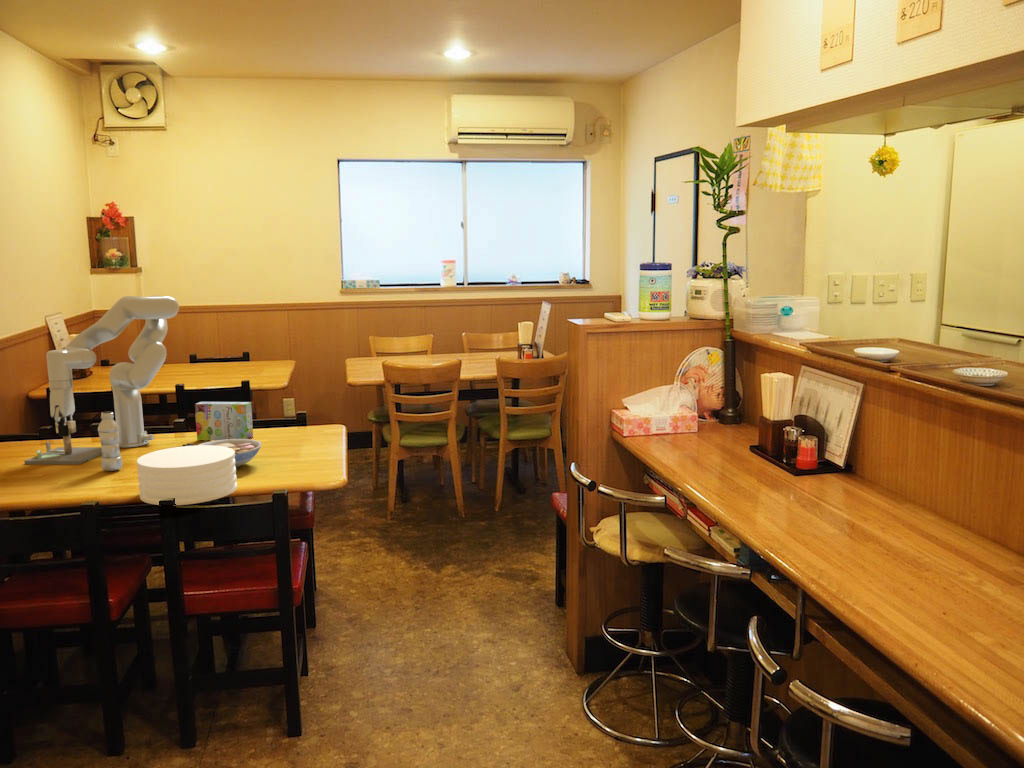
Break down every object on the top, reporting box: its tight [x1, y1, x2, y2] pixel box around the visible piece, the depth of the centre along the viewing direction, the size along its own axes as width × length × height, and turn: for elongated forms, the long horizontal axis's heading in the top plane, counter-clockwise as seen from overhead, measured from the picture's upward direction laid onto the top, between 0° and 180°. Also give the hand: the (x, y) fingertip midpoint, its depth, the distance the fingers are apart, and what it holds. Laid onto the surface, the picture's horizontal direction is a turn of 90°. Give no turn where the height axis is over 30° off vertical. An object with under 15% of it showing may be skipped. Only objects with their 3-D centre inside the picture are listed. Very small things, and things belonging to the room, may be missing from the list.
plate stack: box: [136, 444, 238, 506], centre depth 258 cm, size 28×28×12 cm
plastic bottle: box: [97, 411, 124, 472], centre depth 283 cm, size 6×7×20 cm
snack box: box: [194, 401, 254, 441], centre depth 326 cm, size 21×6×15 cm, turn 82°
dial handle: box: [45, 420, 77, 454], centre depth 303 cm, size 11×2×12 cm, turn 84°
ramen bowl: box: [181, 439, 262, 469], centre depth 287 cm, size 25×23×8 cm
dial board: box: [23, 446, 102, 465], centre depth 303 cm, size 20×20×3 cm
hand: (66, 434), depth 302 cm, fingers closed on dial handle, 3 cm apart
